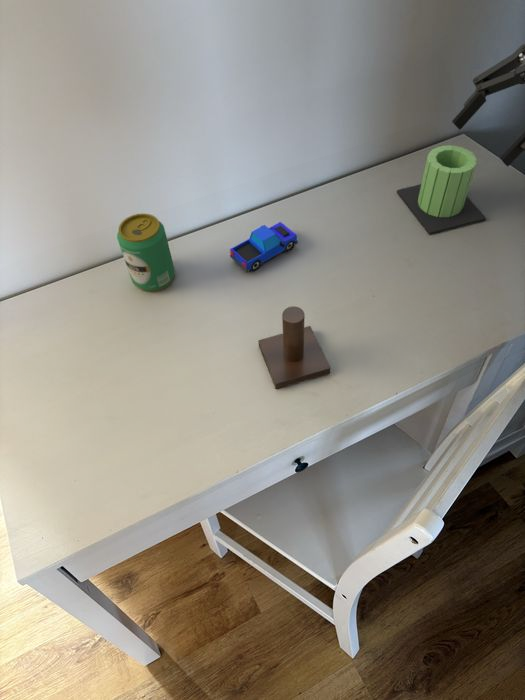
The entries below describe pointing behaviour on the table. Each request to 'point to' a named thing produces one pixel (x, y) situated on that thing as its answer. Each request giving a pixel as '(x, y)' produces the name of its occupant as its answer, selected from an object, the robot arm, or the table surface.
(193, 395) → the table surface
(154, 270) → the beverage can
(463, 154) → the green tube
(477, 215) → the rubber mat
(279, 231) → the toy car
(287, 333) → the stacking stand
